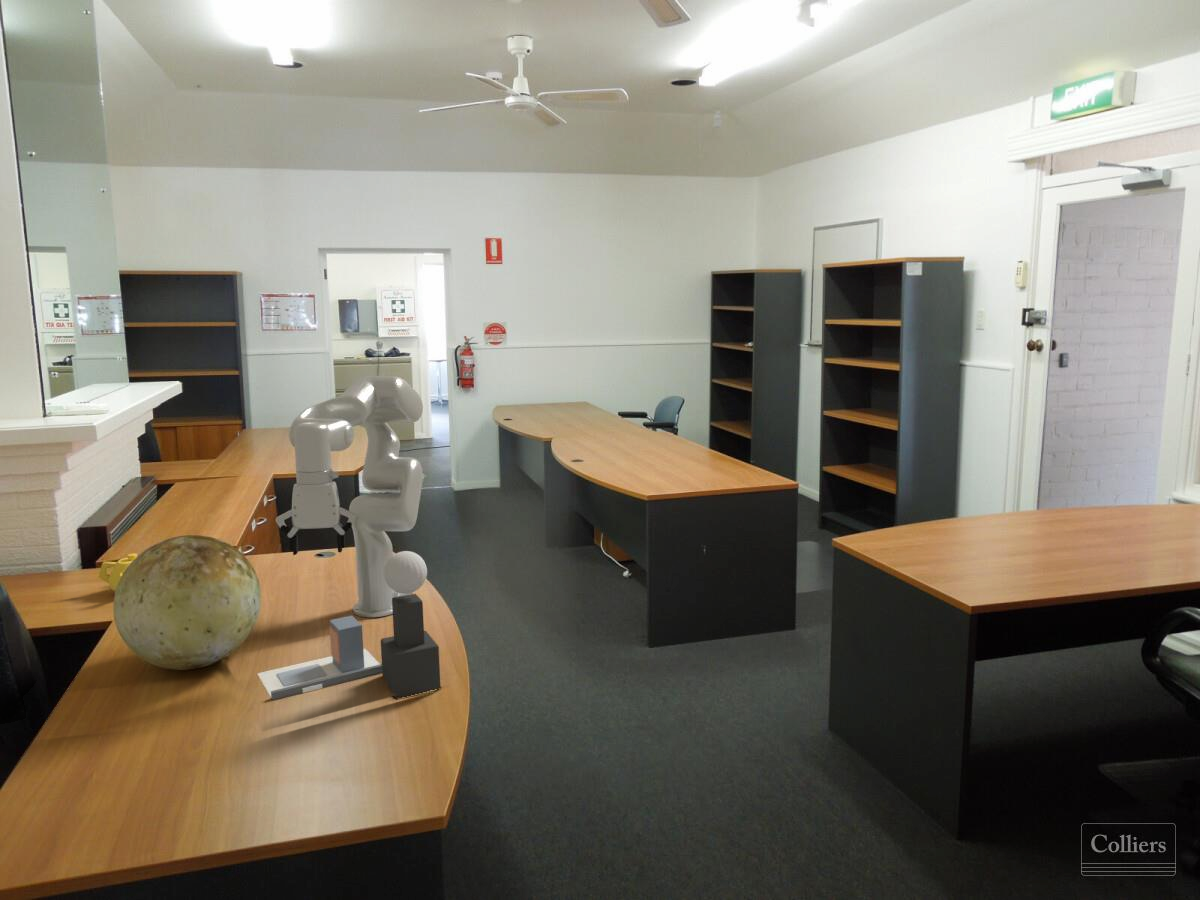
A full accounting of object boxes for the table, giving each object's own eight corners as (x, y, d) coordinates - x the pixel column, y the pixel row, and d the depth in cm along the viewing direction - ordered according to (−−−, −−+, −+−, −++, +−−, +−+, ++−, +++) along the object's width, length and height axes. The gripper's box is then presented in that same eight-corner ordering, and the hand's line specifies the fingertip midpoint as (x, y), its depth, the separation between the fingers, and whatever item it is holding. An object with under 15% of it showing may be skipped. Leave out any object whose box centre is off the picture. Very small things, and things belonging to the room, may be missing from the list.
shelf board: (365, 654, 197) (364, 642, 197) (387, 678, 185) (386, 665, 184) (257, 679, 184) (256, 667, 184) (273, 707, 172) (272, 693, 171)
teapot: (160, 600, 235) (156, 562, 233) (89, 606, 230) (84, 567, 228) (177, 578, 254) (174, 542, 252) (112, 583, 249) (108, 547, 247)
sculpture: (393, 701, 174) (386, 562, 169) (382, 681, 183) (374, 549, 178) (441, 690, 179) (435, 554, 173) (427, 672, 187) (421, 542, 182)
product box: (354, 656, 192) (352, 615, 190) (364, 667, 186) (361, 625, 185) (331, 662, 189) (328, 620, 188) (340, 673, 184) (337, 630, 182)
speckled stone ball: (275, 633, 210) (266, 516, 205) (253, 685, 182) (241, 552, 176) (145, 644, 204) (131, 524, 199) (100, 700, 175) (84, 562, 170)
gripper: (355, 473, 193) (358, 546, 196) (276, 476, 190) (280, 550, 192) (353, 479, 186) (356, 554, 188) (270, 482, 182) (275, 558, 185)
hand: (318, 552), depth 190 cm, fingers open, 9 cm apart
